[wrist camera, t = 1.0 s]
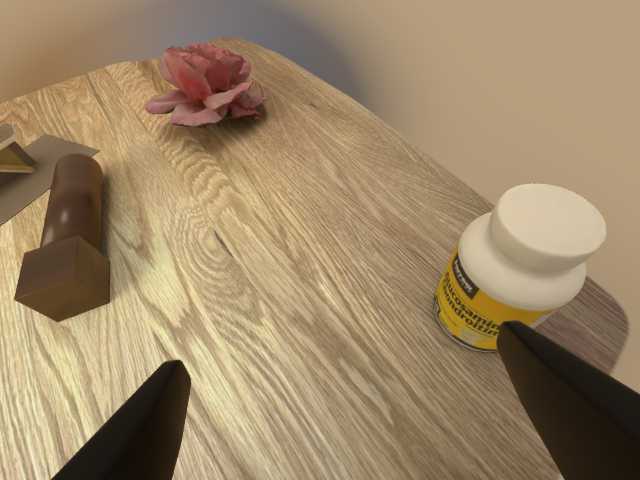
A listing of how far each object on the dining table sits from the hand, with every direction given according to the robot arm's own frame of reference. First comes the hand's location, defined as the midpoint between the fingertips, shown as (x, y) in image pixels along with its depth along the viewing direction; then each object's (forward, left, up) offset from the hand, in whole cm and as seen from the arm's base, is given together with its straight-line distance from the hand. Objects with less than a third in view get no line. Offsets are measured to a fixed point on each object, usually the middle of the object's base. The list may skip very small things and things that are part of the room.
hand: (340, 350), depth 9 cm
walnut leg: (+27, +18, -15) cm, 35 cm away
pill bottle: (+3, -12, -15) cm, 20 cm away
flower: (+41, +1, -15) cm, 44 cm away
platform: (+41, +28, -15) cm, 52 cm away
